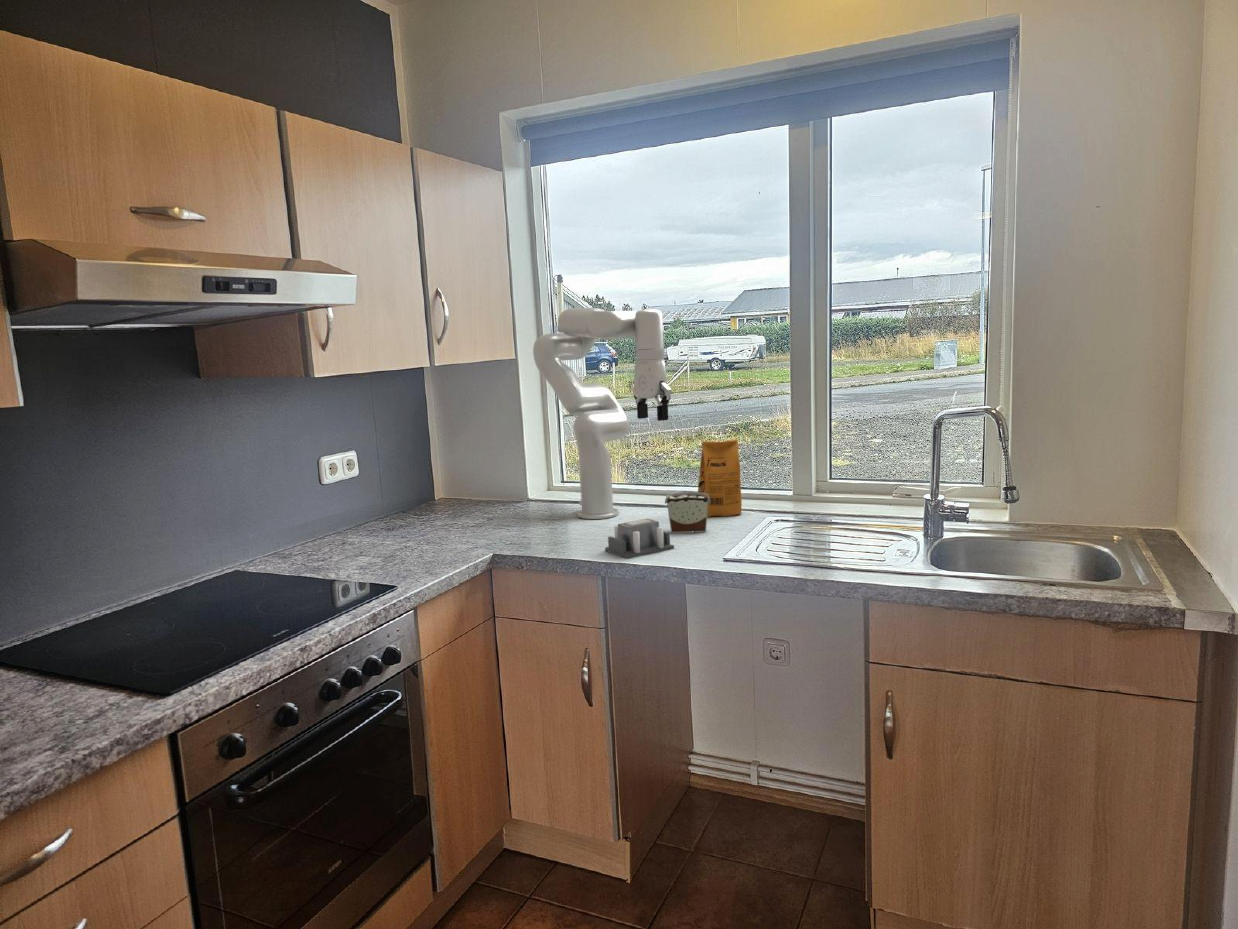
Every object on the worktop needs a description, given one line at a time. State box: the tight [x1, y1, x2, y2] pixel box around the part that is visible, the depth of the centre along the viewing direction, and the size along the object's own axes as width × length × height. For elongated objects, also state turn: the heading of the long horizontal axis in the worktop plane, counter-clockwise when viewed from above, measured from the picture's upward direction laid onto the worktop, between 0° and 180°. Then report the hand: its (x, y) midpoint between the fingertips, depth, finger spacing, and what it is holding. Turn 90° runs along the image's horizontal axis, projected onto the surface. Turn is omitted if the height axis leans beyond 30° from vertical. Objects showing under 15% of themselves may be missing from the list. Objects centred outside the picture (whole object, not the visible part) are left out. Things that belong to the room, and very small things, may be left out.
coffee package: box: [697, 438, 743, 518], centre depth 237 cm, size 10×12×22 cm
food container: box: [664, 491, 711, 533], centre depth 220 cm, size 12×6×10 cm, turn 84°
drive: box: [617, 518, 660, 551], centre depth 201 cm, size 5×9×6 cm, turn 122°
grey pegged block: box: [604, 525, 675, 559], centre depth 201 cm, size 10×14×6 cm
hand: (652, 419), depth 220 cm, fingers open, 9 cm apart
